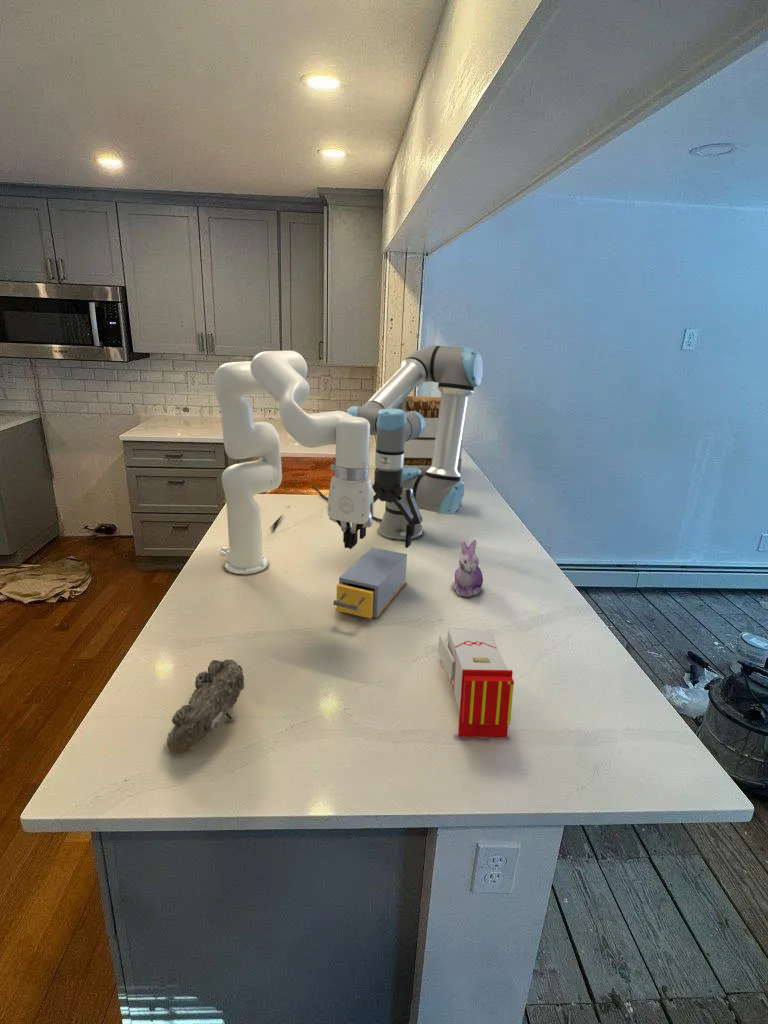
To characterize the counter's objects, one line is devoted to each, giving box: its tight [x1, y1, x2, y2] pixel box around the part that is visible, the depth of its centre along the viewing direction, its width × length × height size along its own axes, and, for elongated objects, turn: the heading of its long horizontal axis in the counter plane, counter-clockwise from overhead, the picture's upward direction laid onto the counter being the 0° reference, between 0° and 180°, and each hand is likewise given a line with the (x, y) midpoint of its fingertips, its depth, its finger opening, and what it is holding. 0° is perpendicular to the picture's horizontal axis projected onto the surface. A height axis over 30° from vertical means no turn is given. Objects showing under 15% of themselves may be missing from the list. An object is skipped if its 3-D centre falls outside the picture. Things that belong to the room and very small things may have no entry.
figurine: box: [453, 539, 484, 598], centre depth 159 cm, size 9×10×15 cm
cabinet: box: [338, 546, 408, 619], centre depth 155 cm, size 22×11×9 cm, turn 158°
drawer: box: [332, 582, 374, 620], centre depth 150 cm, size 26×10×7 cm, turn 158°
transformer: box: [396, 394, 465, 475], centre depth 268 cm, size 34×33×41 cm
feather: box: [268, 514, 283, 532], centre depth 208 cm, size 2×28×2 cm
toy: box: [437, 628, 515, 738], centre depth 117 cm, size 12×13×30 cm
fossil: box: [166, 658, 245, 754], centre depth 106 cm, size 22×10×15 cm
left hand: (350, 546), depth 135 cm, fingers closed
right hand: (385, 541), depth 158 cm, fingers open, 13 cm apart
